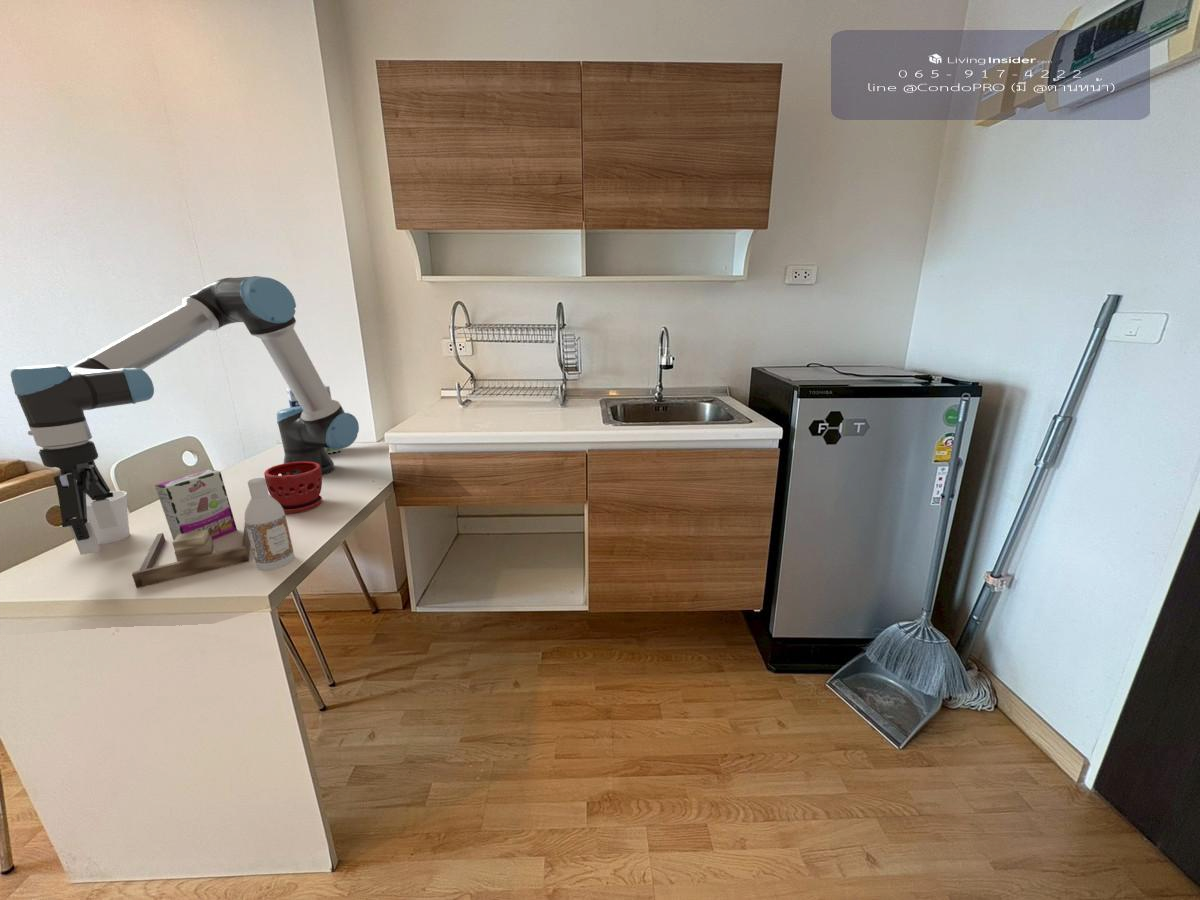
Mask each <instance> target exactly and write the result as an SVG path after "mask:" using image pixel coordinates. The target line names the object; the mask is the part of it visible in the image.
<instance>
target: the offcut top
mask: <svg viewBox="0 0 1200 900" xmlns="http://www.w3.org/2000/svg"><path fill="white" fill-rule="evenodd" d="M209 538H210V536H209V532H208V529H207V530H201V531H196V532H190V533H184V534H178V536H177V537H176V538H175V540H173V541H172V542H171V543H172V547H173V549H174V552H175V551H177V550H183V549H189V548H194V547H200V546H205V545H206V543H207V542H208V540H209Z"/></svg>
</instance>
